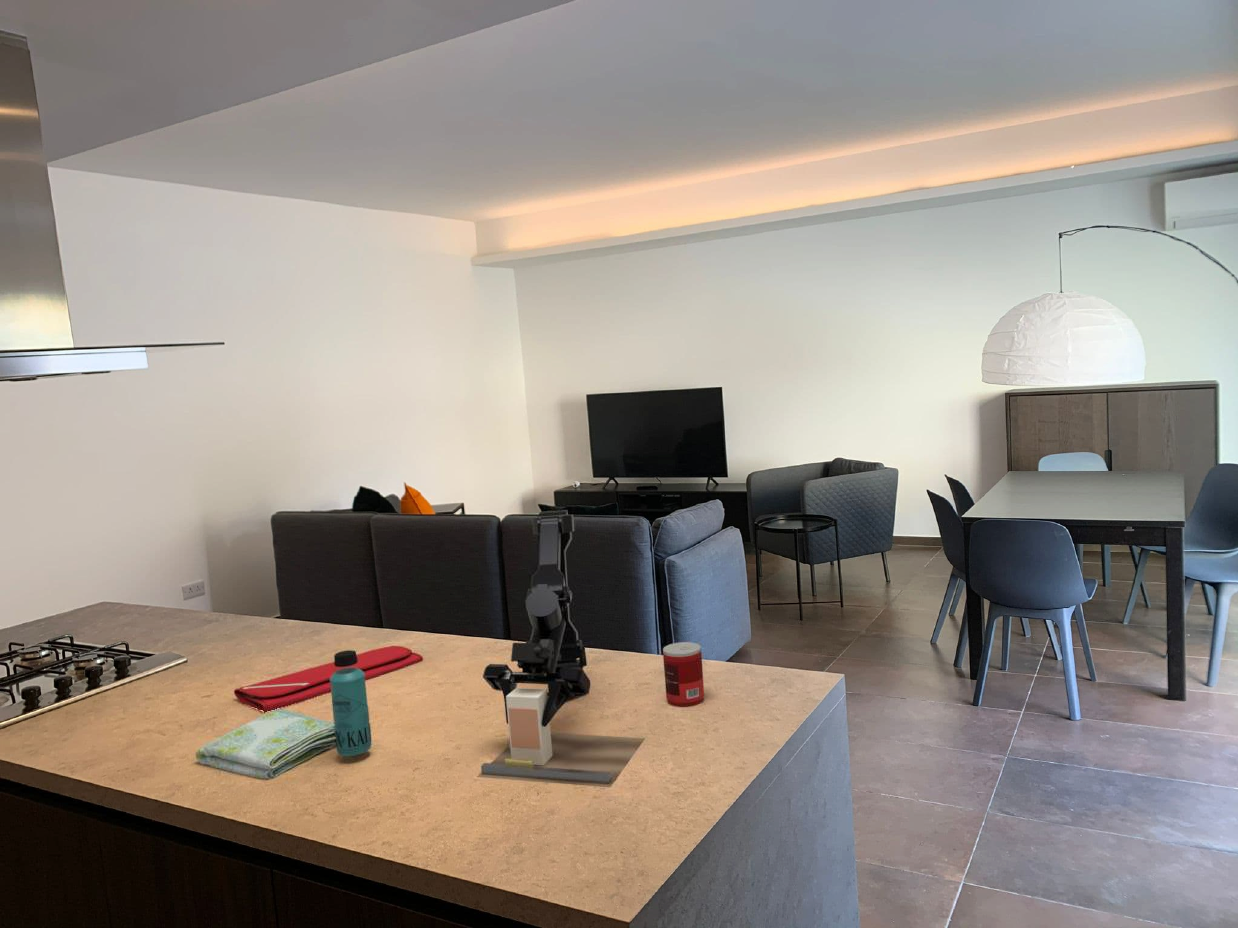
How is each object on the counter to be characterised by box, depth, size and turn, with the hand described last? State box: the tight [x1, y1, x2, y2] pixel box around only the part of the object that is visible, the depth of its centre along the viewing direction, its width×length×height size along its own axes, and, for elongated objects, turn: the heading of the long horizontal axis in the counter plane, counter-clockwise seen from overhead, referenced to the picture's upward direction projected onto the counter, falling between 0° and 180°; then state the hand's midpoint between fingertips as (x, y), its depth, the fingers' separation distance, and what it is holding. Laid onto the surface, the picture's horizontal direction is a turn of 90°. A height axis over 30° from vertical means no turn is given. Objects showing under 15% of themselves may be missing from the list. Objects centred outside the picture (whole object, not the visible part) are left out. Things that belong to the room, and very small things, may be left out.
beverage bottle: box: [330, 650, 373, 757], centre depth 166 cm, size 6×7×20 cm
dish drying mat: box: [233, 645, 424, 714], centre depth 214 cm, size 16×41×4 cm, turn 137°
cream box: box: [506, 687, 553, 766], centre depth 156 cm, size 4×6×12 cm
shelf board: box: [476, 732, 646, 788], centre depth 157 cm, size 20×24×1 cm
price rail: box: [480, 759, 612, 784], centre depth 150 cm, size 2×23×2 cm, turn 72°
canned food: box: [662, 641, 705, 708], centre depth 183 cm, size 8×8×11 cm
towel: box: [195, 708, 336, 780], centre depth 171 cm, size 18×21×5 cm
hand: (525, 724), depth 155 cm, fingers open, 6 cm apart
